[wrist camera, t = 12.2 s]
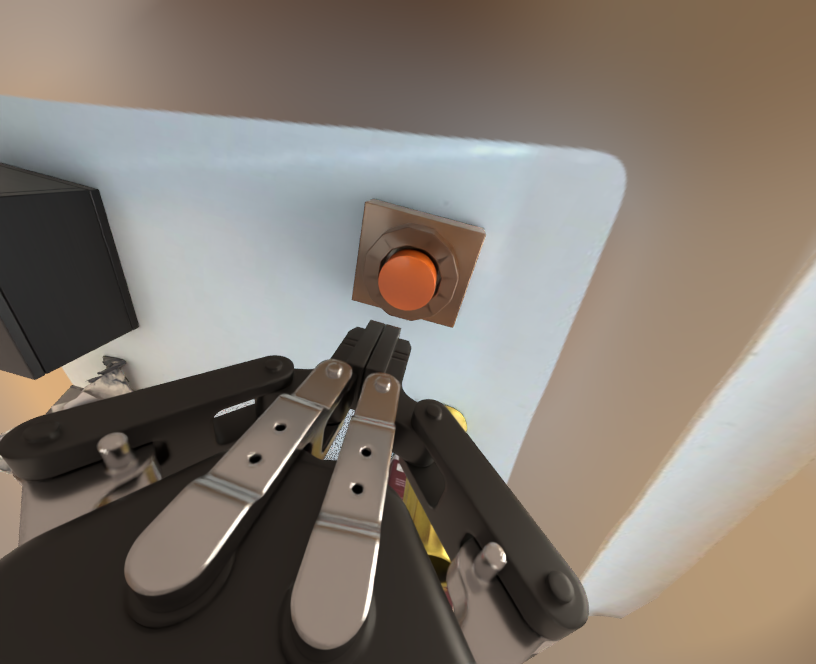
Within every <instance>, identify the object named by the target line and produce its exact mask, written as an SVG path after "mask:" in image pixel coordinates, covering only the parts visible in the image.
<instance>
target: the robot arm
mask: <svg viewBox="0 0 816 664" xmlns="http://www.w3.org/2000/svg"><path fill="white" fill-rule="evenodd" d="M385 325H386V326H385ZM400 332H401V328H398V327H395V326H391V325H388V324H384V323H380V322H377V321H373V320H370V322H369V323H368V325H367V327H366V328H365V329H364V328H360V327H356V328H354V329H352V330H350V331H349V332H348V334H347V335H346V337H345V338H344V340H343V341H342V343H341V344H340V345H339V347H338V348H337V350H336V351H335V353H334V354H333V356H332V357H331V359H329V360H325V361H322V362H321V363H319V364H318V365H317V366H316V367H315V369H294V365H293V362H292V361H291V360H290V359H288V358H286V357H283V356H277V355H273V356H266V357H262V358H259V359H255V360H251V361H247V362H243V363H240V364H236V365H232V366H228V367H224V368H221V369H217V370H213V371H209V372H205V373H202V374H198V375H194V376H190V377H186V378H183V379H179V380H175V381H171V382H167V383H164V384H160V385H156V386H152V387H148V388H145V389H141V390H137V391H133V392H129V393H126V394H122V395H118V396H114V397H110V398H107V399H103V400H99V401H95V402H91V403H88V404H84V405H80V406H76V407H72V408H69V409H65V410H61V411H57V412H53V413H50V414H46V415H43V416H39V417H36V418H33V419H31V420H29V421H26V422H24V423H22V424H20V425H18V426H17V427H15V428H14V429H12V430H11V431H9V432H8V433H7V434H6V435H5V436H4V437H3V438H2V439H1V441H0V455H1V457H2V458H3V459H4V460H5V462H6V463H7V464H8V466H9V467H10V468H11V469H12V473H13V476H14V477H15V479H16V480H17V481H18V482H19V484H20V485H21V486H22V501H21V514H20V530H19V545H18V547H17V548H16V549H14V550H13V551H12V552H10V553H9V554H7V555H6V556H4V557H3V558H2V559H1V560H0V664H523V663H524V662H525V661H527V660H529V659H530V658H532V657H534V656H535V655H537V654H538V653H540V652H542V651H543V650H545V649H547V648H548V647H550V646H552V645H553V644H555V643H556V642H558V641H559V640H561V639H563V638H564V637H566V636H568V635H569V634H571V633H573V632H574V631H576V630H577V629H579V628H581V627H582V626H583V625H584V624H585V623H586V621H587V619H588V615H589V605H588V599H587V596H586V593H585V590H584V588H583V586H582V584H581V582H580V580H579V579H578V577H577V576H576V574H575V573H574V572H573V570H572V569H571V568H570V566H569V565H568V564H567V562H566V561H565V560H564V559H563V557H562V556H561V555H560V554H559V552H558V551H557V550H556V548H555V547H554V546H553V544H552V543H551V542H550V540H549V539H548V538H547V537H546V535H545V534H544V533H543V531H542V530H541V529H540V527H539V526H538V525H537V524H536V522H535V521H534V520H533V518H532V517H531V516H530V515H529V513H528V512H527V511H526V509H525V508H524V507H523V505H522V504H521V503H520V502H519V500H518V499H517V498H516V496H515V495H514V494H513V492H512V491H511V490H510V489H509V487H508V486H507V485H506V483H505V482H504V481H503V480H502V478H501V477H500V476H499V474H498V473H497V472H496V470H495V469H494V468H493V467H492V465H491V464H490V463H489V461H488V460H487V459H486V457H485V456H484V455H483V454H482V452H481V451H480V450H479V448H478V447H477V446H476V445H475V443H474V442H473V441H472V439H471V438H470V437H469V435H468V434H467V433H466V432H465V430H464V429H463V428H462V426H461V425H460V424H459V422H458V421H457V420H456V419H455V417H454V416H453V415H452V413H451V412H450V411H449V410H448V408H447V407H446V406H445V405H443V404H442V403H440V402H438V401H436V400H431V399H425V400H421V401H419V402H416V401H414V400H413V399H411V398H410V397H409V396H407V395H406V393H405V392H404V390H403V388H402V380H403V377H404V373H405V370H406V366H407V362H408V359H409V355H410V352H411V346H410V343H409V341H407V340H403V339H399V336H400ZM252 399H255V404H252V405H249V406H246V407H244V408H241V409H238V410H235V411H232V412H230V413H227V414H224V415H221V416H218V417H215V418H214V416H215V415H216V414H217V413H218V412H219V411H221V410H223V409H226V408H229V407H232V406H234V405H237V404H240V403H243V402H246V401H249V400H252ZM349 409H353V410H355V413H354V416H353V415H352V417H351V420H350V423H349V426H348V429H347V432H346V435H345V438H344V441H343V444H342V447H341V450H340V453H339V456H338V459H337V460H324V458H325V456H326V454H327V452H328V451H329V449H330V447H331V445H332V444H333V442H334V440H335V438H336V437H337V435H338V433H339V431H340V430H341V428H342V426H343V424H344V421H345V417H346V416H347V413H348V411H349ZM392 452H393V453H395V454H396V455H398V456H399V463H400V466H401V468H402V470H403V471H404V473H405V475H406V477H407V479H408V481H409V483H410V485H411V487H412V489H413V490H414V492H415V494H416V496H417V498H418V500H419V502H420V504H421V506H422V508H423V510H424V511H425V513H426V515H427V517H428V519H429V521H430V523H431V525H432V527H433V529H434V531H435V532H436V534H437V536H438V538H439V540H440V542H441V544H442V546H443V548H444V550H445V552H446V553H447V555H448V557H449V559H450V561H451V563H450V565H449V567H448V570H447V575H446V582H447V588H448V592H449V595H450V598H451V600H452V604H453V608H454V612H453V610H452V608H451V605H450V603H449V601H448V599H447V596H446V594H445V592H444V590H443V587H442V585H441V583H440V581H439V578H438V576H437V574H436V572H435V569H434V567H433V565H432V563H431V560H430V558H429V556H428V554H427V551H426V549H425V547H424V545H423V542H422V540H421V538H420V536H419V533H418V531H417V529H416V527H415V524H414V522H413V520H412V518H411V515H410V513H409V511H408V509H407V507H406V505H405V503H404V502H403V500H402V499H401V497H400V496H399V495H398V494H397V492H396V491H395V490H394V489H393V488H392V487H390V486H389V485H388V484H387V482H388V475H389V468H390V462H391V455H392Z"/></svg>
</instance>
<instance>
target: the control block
mask: <svg viewBox="0 0 816 664" xmlns="http://www.w3.org/2000/svg"><path fill="white" fill-rule="evenodd" d="M485 237H486V233H485V230H484V228H481V227H477V226H473V225H470V224H466V223H462V222H458V221H455V220H451V219H447V218H444V217H440V216H436V215H432V214H429V213H425V212H421V211H418V210H414V209H410V208H406V207H403V206H399V205H395V204H391V203H388V202H384V201H380V200H377V199H371V200H369V201H366V202H365V207H364V214H363V221H362V229H361V236H360V243H359V250H358V258H357V265H356V272H355V280H354V287H353V294H352V300H354V301H358V302H361V303H365V304H369V305H372V306H376V307H380V308H382V309H383V310H384V311H385V312H386V313H387V314H389V315H391V316H395V317H399V318H402V319H406V320H409V321H413V320H418V319H423V320H427V321H430V322H434V323H437V324H441V325H445V326H448V327H452V328H453V326H454V324H455V321H456V318H457V315H458V312H459V310H460V307H461V304H462V301H463V298H464V296H465V293H466V290H467V287H468V284H469V282H470V279H471V276H472V273H473V270H474V267H475V265H476V262H477V259H478V256H479V253H480V251H481V248H482V245H483V242H484V239H485ZM405 249H413V250H417V251H420V252H422V253H424V254H425V255H427V256H428V257H429V258H430V259H431V261H432V262H433V264H434V266H435V268H436V272H437V281H436V286H435V291H434V294H433V296H432V298H431V299H430V301H429V302H428V303H427V304H426V305H424V306H423V307H421V308H419V309H416V310H401V309H398V308H395V307H393V306H392V305H390V304H389V303H388V302H387V301H386V300H385V299H384V298H383V296H382V294H381V292H380V289H379V285H378V278H379V273H380V271H381V269H382V267H383V266H384V264H385V263H386V262H387V260H388V259H389V258H390V257H391V256H392V255H393V254H395V253H396V252H398V251H401V250H405Z"/></svg>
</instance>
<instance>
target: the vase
mask: <svg viewBox="0 0 816 664" xmlns="http://www.w3.org/2000/svg"><path fill="white" fill-rule="evenodd" d="M445 406H446V405H445ZM446 407H447V408H448V410H449V411H450V412H451V413H452V415H453V416H454V417H455V419H456V420H457V421H458V422H459V424H460V425H461V426H462V428H463V429H464V430H465V432H466V431H467V424H466V421H465V419H464V417H463V415H462V414H461V413H460V412H458V411H457V410H456V409H454V408H452V407H449V406H446ZM403 502H404V503H405V505H406V507H407V509H408V511H409V513H410V515H411V518H412V520H413V522H414V524H415V527H416V529H417V531H418V533H419V536H420V538H421V540H422V542H423V545H424V547H425V549H426V551H427V554H428V556H429V558H430V560H431V563H432V565H433V567H434V569H435V572H436V574H437V576H438V578H439V581H440V583H441V585H442V587H447V582H446V575H447V570H448V567H449V565H450V563H451V561H450V559H449V557H448V555H447V553H446V552H445V550H444V548H443V546H442V544H441V542H440V540H439V538H438V536H437V534H436V532H435V531H434V529H433V527H432V525H431V523H430V521H429V519H428V517H427V515H426V513H425V511H424V510H423V508H422V506H421V504H420V502H419V500H418V498H417V496H416V494H415V492H414V490H413V489H412V487H411V485H410V483H409V481H408V479H407V478H406V485H405V491H404V497H403Z"/></svg>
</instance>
